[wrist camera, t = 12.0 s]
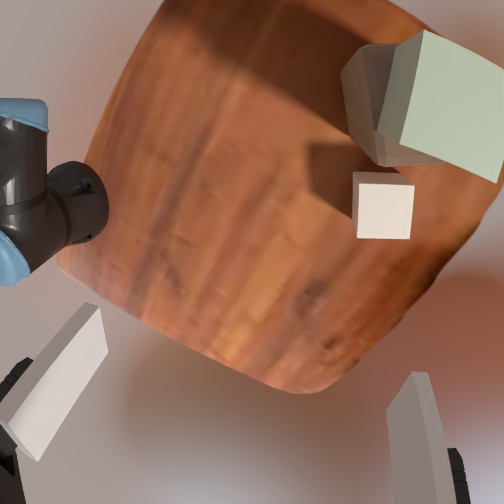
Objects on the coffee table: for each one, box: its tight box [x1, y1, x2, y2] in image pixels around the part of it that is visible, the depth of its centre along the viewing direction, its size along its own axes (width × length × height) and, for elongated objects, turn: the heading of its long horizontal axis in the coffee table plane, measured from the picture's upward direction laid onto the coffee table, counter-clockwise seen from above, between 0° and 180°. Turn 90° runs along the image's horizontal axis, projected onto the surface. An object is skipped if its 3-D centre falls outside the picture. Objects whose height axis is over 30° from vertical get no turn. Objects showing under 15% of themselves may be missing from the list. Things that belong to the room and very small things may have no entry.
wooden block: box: [340, 44, 451, 167], centre depth 29 cm, size 10×10×20 cm
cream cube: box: [352, 172, 414, 239], centre depth 40 cm, size 7×7×7 cm
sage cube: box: [377, 30, 504, 183], centre depth 17 cm, size 7×7×7 cm
